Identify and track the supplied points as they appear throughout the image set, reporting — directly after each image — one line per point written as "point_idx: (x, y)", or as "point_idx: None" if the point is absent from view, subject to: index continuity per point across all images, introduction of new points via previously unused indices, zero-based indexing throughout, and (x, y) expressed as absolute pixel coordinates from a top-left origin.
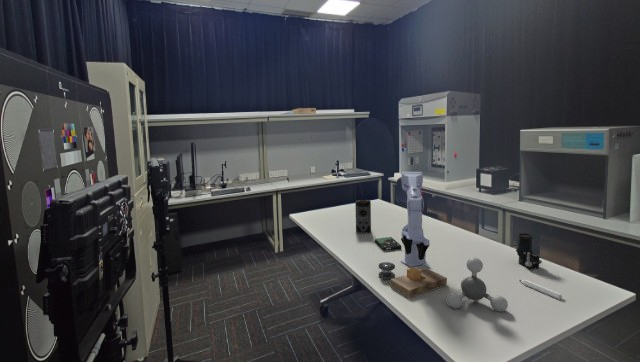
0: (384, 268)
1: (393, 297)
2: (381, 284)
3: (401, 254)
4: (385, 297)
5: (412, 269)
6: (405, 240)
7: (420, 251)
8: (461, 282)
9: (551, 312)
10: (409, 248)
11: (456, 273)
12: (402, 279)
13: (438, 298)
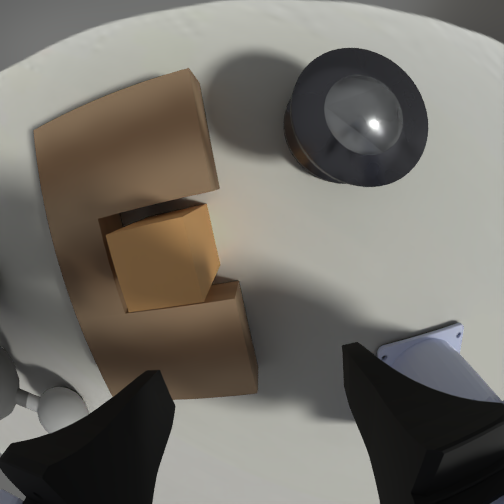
0: (312, 62)
1: (89, 59)
2: (242, 44)
3: (500, 358)
4: (106, 24)
5: (159, 259)
6: (415, 467)
7: (70, 425)
8: (59, 405)
9: (3, 437)
10: (361, 413)
11: (221, 462)
12: (153, 147)
13: (30, 262)
